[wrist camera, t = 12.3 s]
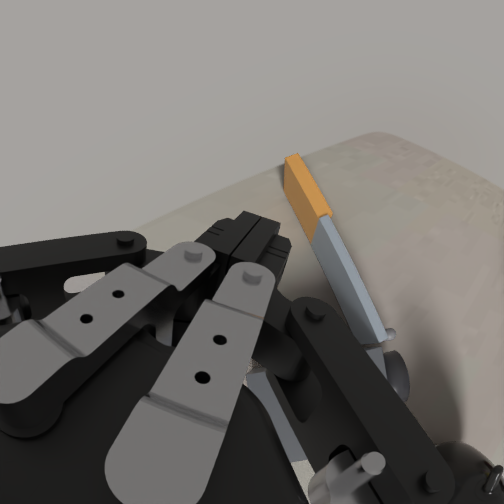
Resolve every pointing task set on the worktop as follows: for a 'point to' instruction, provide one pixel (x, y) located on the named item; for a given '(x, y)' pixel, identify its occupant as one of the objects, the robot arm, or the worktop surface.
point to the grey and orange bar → (332, 253)
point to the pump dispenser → (472, 475)
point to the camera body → (259, 385)
